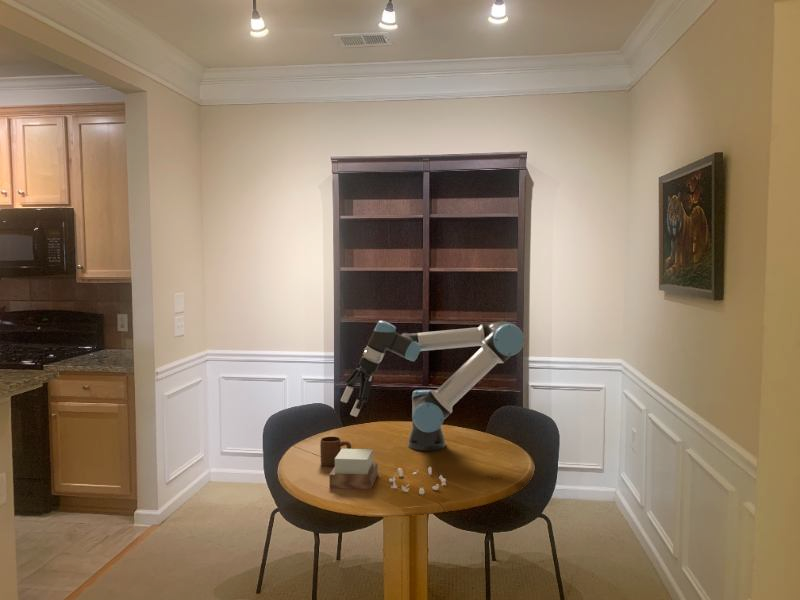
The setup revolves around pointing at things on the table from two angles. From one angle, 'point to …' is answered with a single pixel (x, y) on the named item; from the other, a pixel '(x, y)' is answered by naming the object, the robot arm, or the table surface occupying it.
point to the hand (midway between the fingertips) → (348, 408)
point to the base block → (354, 479)
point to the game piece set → (416, 473)
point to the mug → (331, 450)
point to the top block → (354, 461)
